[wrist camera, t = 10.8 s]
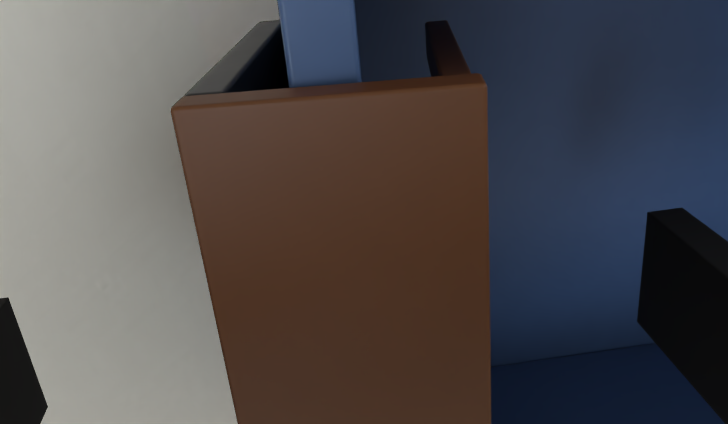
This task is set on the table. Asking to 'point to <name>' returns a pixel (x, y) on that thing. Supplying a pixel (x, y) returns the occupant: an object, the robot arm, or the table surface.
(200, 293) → the table surface
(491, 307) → the bin
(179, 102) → the two-tone wooden bracket
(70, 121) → the table surface
